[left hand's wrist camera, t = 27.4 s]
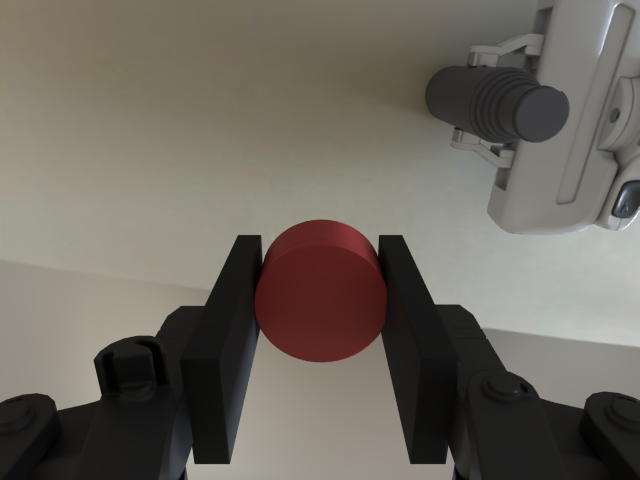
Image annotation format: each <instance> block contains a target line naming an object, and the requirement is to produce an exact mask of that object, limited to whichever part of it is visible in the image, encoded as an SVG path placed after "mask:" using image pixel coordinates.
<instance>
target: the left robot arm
mask: <svg viewBox="0 0 640 480" xmlns="http://www.w3.org/2000/svg"><path fill="white" fill-rule="evenodd" d="M378 259H379V262H380V265H381V269H382V272H383V275H384V279H385V282H386V285H387V302H386V318H385V325H384V327H383V329H382V331H381V335H382V339H383V344H384V348H385V353H386V357H387V362H388V366H389V370H390V375H391V379H392V384H393V388H394V393H395V397H396V402H397V406H398V411H399V415H400V420H401V424H402V428H403V433H404V438H405V442H406V446H407V451H408V455H409V460H410V464H446V458H447V451H448V445H449V448H450V451H451V454H452V457H453V460H454V463H455V465H454V472H453V478H452V480H640V400H638V399H636V398H633V397H630V396H627V395H623V394H620V393H614V392H599V393H594V394H592V395H591V396H590V397H588V398H587V399H586V403H585V406H584V409H581V408H577V407H572V406H567V405H563V404H559V403H554V402H551V401H547V400H544V399H541V398H539V395H538V393H537V392H536V390H535V389H534V387H533V386H532V385H531V384H530V383H528V382H527V381H526V380H525V379H523V378H522V377H520V376H518V375H516V374H513V373H511V372H508V371H507V370H506V369H505V367H504V365H503V364H502V362H501V360H500V359H499V357H498V355H497V354H496V352H495V351H494V349H493V347H492V346H491V344H490V342H489V341H488V339H486V336H485V334H484V332H483V331H482V329H480V326H479V324H478V322H477V321H476V319H475V317H474V316H473V314H471V313H470V312H469V311H467V310H466V309H464V308H463V307H462V306H460V305H435V304H434V302H433V300H432V298H431V295H430V293H429V291H428V289H427V287H426V285H425V283H424V281H423V278H422V276H421V274H420V272H419V270H418V268H417V266H416V264H415V261H414V259H413V257H412V255H411V253H410V251H409V249H408V247H407V245H406V242H405V240H404V238H403V236H402V235H379V247H378ZM262 265H263V260H262V242H261V235H238V237H237V239H236V241H235V243H234V245H233V247H232V249H231V252H230V254H229V256H228V258H227V260H226V262H225V264H224V266H223V268H222V271H221V273H220V275H219V277H218V279H217V281H216V283H215V285H214V288H213V290H212V292H211V294H210V296H209V298H208V300H207V302H206V305H205V306H181V307H179V308H178V309H176V310H175V311H174V312H172V313H171V314H170V315H168V316H167V318H166V320H165V321H164V323H163V325H162V326H161V328H160V330H159V331H158V333H157V335H156V336H155V337H153V336H134V337H129V338H124V339H122V340H119V341H117V342H114V343H112V344H110V345H108V346H107V347H106V348H104V349H103V350H101V351H100V352H99V353H98V355H97V356H96V357H95V359H94V364H95V368H96V373H97V377H98V381H99V385H100V390H101V394H102V396H101V399H100V400H99V401H96V402H92V403H89V404H85V405H81V406H76V407H72V408H67V409H63V410H58V411H57V408H56V405H55V401H54V400H52V399H51V398H50V397H49V396H48V395H43V394H38V393H35V394H25V395H20V396H17V397H13V398H10V399H7V400H5V401H3V402H1V403H0V480H188V478H187V472H186V463H187V460H188V457H189V454H190V451H191V448H192V449H193V456H194V463H195V464H230V461H231V456H232V452H233V448H234V443H235V439H236V434H237V430H238V425H239V421H240V416H241V412H242V407H243V403H244V399H245V394H246V390H247V385H248V381H249V376H250V372H251V367H252V363H253V358H254V354H255V349H256V345H257V340H258V336H259V332H260V327H259V324H258V322H257V319H256V316H255V311H254V295H255V290H256V287H257V283H258V279H259V276H260V272H261V269H262Z"/></svg>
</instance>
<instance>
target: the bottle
mask: <svg viewBox="0 0 640 480" xmlns="http://www.w3.org/2000/svg"><path fill="white" fill-rule="evenodd" d="M426 104H427V107H428V109H429V110H430V112H431V113H432V114H433V115H434V116H435V117H437V118H438V119H441V120H443V121H445V122H447V123H449V124H451V125H453V126H456V127H458V128H460V129H462V130H464V131H466V132H469V133H471V134H473V135H475V136H477V137H479V138H481V139H484V140H486V141H488V142H492V143H509V142H513V141H516V140H519V139H522V140H525V141H527V142H532V143H539V142H544V141H547V140H549V139H551V138H553V137H554V136H556V135H557V134H558V133H559V132H560V131H561V130H562V129H563V127H564V126H565V125H566V122H567V120H568V117H569V111H570V106H569V101H568V98H567V96H566V95H565V94H564V92H563V91H559V90H557V89H555V88H553V87H551V86H546V85H540V83H539V82H538V81H537V79H536V78H535V77H534V76H533V75H531V74H530V73H528V72H526V71H524V70H522V69H518V68H513V67H467V66H451V67H447V68H444V69H442V70H440V71H439V72H437V73H436V74H435V75H434V76H433V77H432V79H431V80H430V82H429V84H428V86H427V89H426Z"/></svg>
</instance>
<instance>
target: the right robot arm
mask: <svg viewBox="0 0 640 480" xmlns="http://www.w3.org/2000/svg"><path fill="white" fill-rule="evenodd" d="M512 51H513V53H514V55H521V56H525V59H524V63H523V67H522V70H524V71H526V72H528V73H530V74H531V75H533V76H534V77H535V78H536V79H537V81H538V82H539V83H540V85H546V86H551V87H553V88H555V89H557V90H559V91H563V92H564V94H565V95H566V96H567V98H568V101H569V106H570V111H569V117H568V120H567V122H566V125H565V126H564V127H563V129H562V130H561V131H560V132H559V133H558V134H557V135H556V136H554V137H553V138H551V139H549V140H547V141H544V142H539V143H532V142H527V141H525V140H522V139H519V140H516V141H513V142H509V143H504V144H503V146H494V145H492V146H491V149H490V150H489V149H487V148H486V147H485V146H483V145H482V144H481V143H480V138H479V137H477V136H475V135H473V134H471V133H469V132H466V131H464V130H462V129H460V128H457V127H455V128H454V132H453V137H452V140H451V146H452V147H454V148H457V149H463V150H473V151H474V152H476V153H477V154H478V155H479V156H481V157H482V158H483V159H484V160H486V161H487V162H489V163H490V164H492V165H494V166H495V167H498V168H497V172H496V176H495V180H494V185H493V189H492V193H491V197H490V201H489V205H488V209H487V213H488V215H489V216H490V217H491V219H492V220H493V221H494V222H495V223H496V224H497V225H498V226H499V227H500V228H501V229H503V230H504V231H506V232H509V233H513V234H524V235H562V234H572V233H576V232H579V231H582V230H584V229H586V228H588V227H589V226H591V225H592V224H595V225H597V226H599V227H602V228H605V229H609V230H616V231H617V230H623V229H625V228H626V227H628V226H629V225H630V223H631V222H632V221H633V220H634V218H635V217H636V216H637V214H638V213H639V212H640V0H539V2H538V6H537V10H536V14H535V19H534V23H533V27H532V31H531V33H527V34H520V35H516V36H514V37H512V38H510V39H507V40H505V41H503V42H501V43H499V44H497V45H495V46H483V45H473V46H471V47H470V52H469V57H468V62H467V66H469V67H497V63H498V59H499V57H501V56H503V55H505V54H507V53H510V52H512Z"/></svg>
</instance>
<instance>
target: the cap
mask: <svg viewBox="0 0 640 480" xmlns="http://www.w3.org/2000/svg"><path fill="white" fill-rule="evenodd" d="M386 302H387V285H386V282H385V279H384V275H383V272H382V269H381V265H380V262H379V259H378V256H377V253H376V251H375V249H374V247H373V246H372V244H371V243H370V242H369V240H368V239H367V238H366V237H365V236H364V235H363V234H361V233H360V232H359V231H357V230H356V229H354V228H352V227H351V226H348V225H346V224H344V223H340V222H337V221H332V220H311V221H306V222H302V223H300V224H297V225H295V226H293V227H291V228H289V229H287V230H286V231H284V232H283V233H282V234H281V235H279V236H278V237H277V238H276V239H275V241H274V242H273V243H272V244H271V246H270V247H269V249H268V251H267V253H266V255H265V258H264V262H263V265H262V269H261V272H260V276H259V279H258V283H257V287H256V290H255V295H254V311H255V316H256V319H257V322H258V324H259V327H260V329H261V330H262V332H263V333H264V335H265V336H266V337H267V339H268V340H269V341H270V342H271V343H272V344H273V345H274V346H276V347H277V348H278V349H280V350H281V351H283V352H284V353H286V354H288V355H290V356H292V357H295V358H298V359H301V360H305V361H311V362H333V361H338V360H342V359H345V358H348V357H351V356H353V355H355V354H357V353H359V352H361V351H362V350H364V349H365V348H366V347H368V346H369V345H370V344H371V343H372V342H373V341H374V340H375V339H376V338H377V336H378V335H379V334H380V332H381V331H382V329H383V327H384V325H385V318H386Z"/></svg>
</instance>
